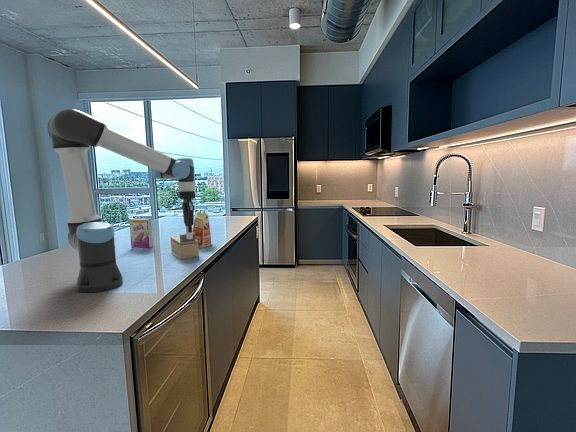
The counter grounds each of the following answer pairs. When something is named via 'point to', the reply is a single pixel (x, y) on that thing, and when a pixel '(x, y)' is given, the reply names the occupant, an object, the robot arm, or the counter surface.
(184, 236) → the mailer lid
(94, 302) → the counter surface
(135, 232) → the candy bar box
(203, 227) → the milk carton
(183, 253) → the mailer box
